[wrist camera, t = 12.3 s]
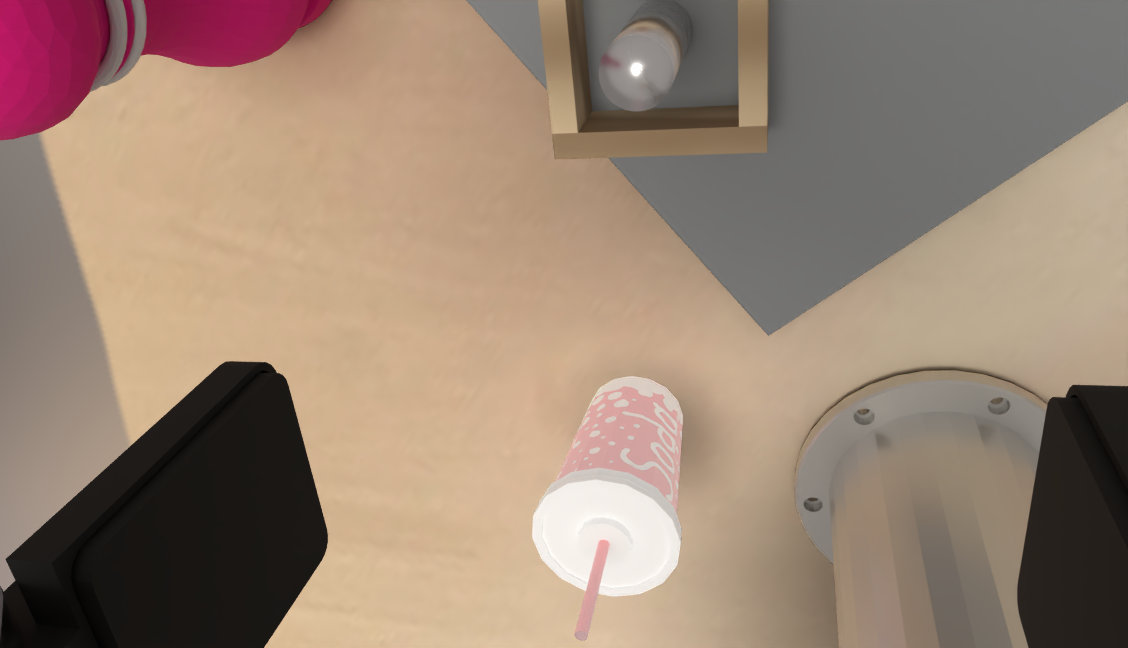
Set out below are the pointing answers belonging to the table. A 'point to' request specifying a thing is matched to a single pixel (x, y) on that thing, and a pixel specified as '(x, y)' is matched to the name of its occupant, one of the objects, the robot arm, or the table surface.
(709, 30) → the board
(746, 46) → the link
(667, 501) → the beverage cup
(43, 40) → the pepper mill
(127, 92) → the table surface
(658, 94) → the grey rounded rod
